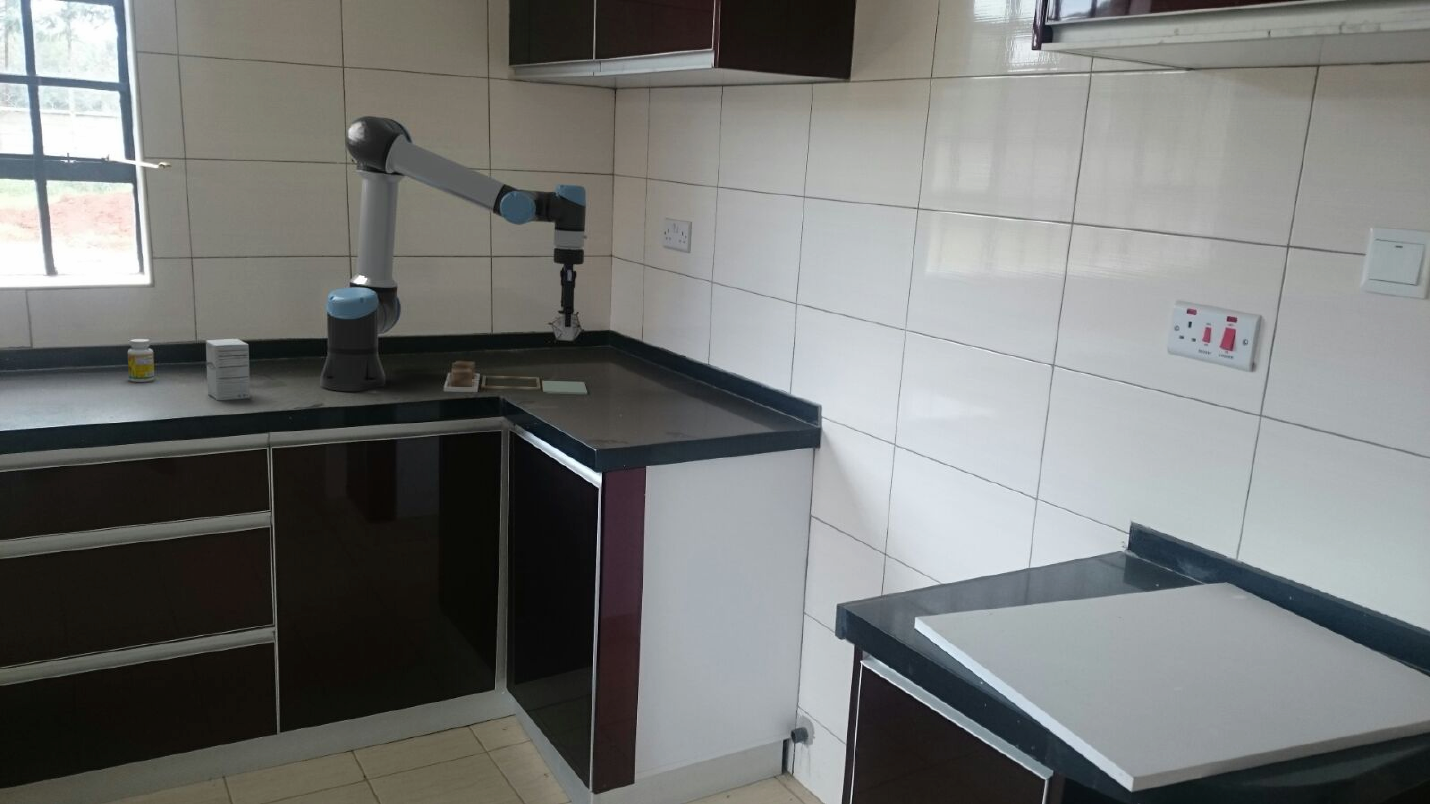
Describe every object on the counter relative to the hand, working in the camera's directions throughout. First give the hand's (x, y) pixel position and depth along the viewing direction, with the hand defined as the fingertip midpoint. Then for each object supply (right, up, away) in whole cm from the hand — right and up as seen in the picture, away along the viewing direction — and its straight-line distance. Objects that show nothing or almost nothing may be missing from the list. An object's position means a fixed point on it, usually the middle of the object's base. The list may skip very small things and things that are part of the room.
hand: (566, 336), depth 271 cm
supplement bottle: (-98, -12, -19) cm, 101 cm away
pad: (-1, -13, +3) cm, 14 cm away
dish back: (-27, -12, +2) cm, 29 cm away
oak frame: (-15, -13, +2) cm, 19 cm away
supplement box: (-73, -16, -29) cm, 80 cm away
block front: (-25, -13, -7) cm, 29 cm away
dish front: (-25, -14, -7) cm, 30 cm away
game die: (0, -2, 0) cm, 2 cm away
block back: (-27, -11, +2) cm, 29 cm away
